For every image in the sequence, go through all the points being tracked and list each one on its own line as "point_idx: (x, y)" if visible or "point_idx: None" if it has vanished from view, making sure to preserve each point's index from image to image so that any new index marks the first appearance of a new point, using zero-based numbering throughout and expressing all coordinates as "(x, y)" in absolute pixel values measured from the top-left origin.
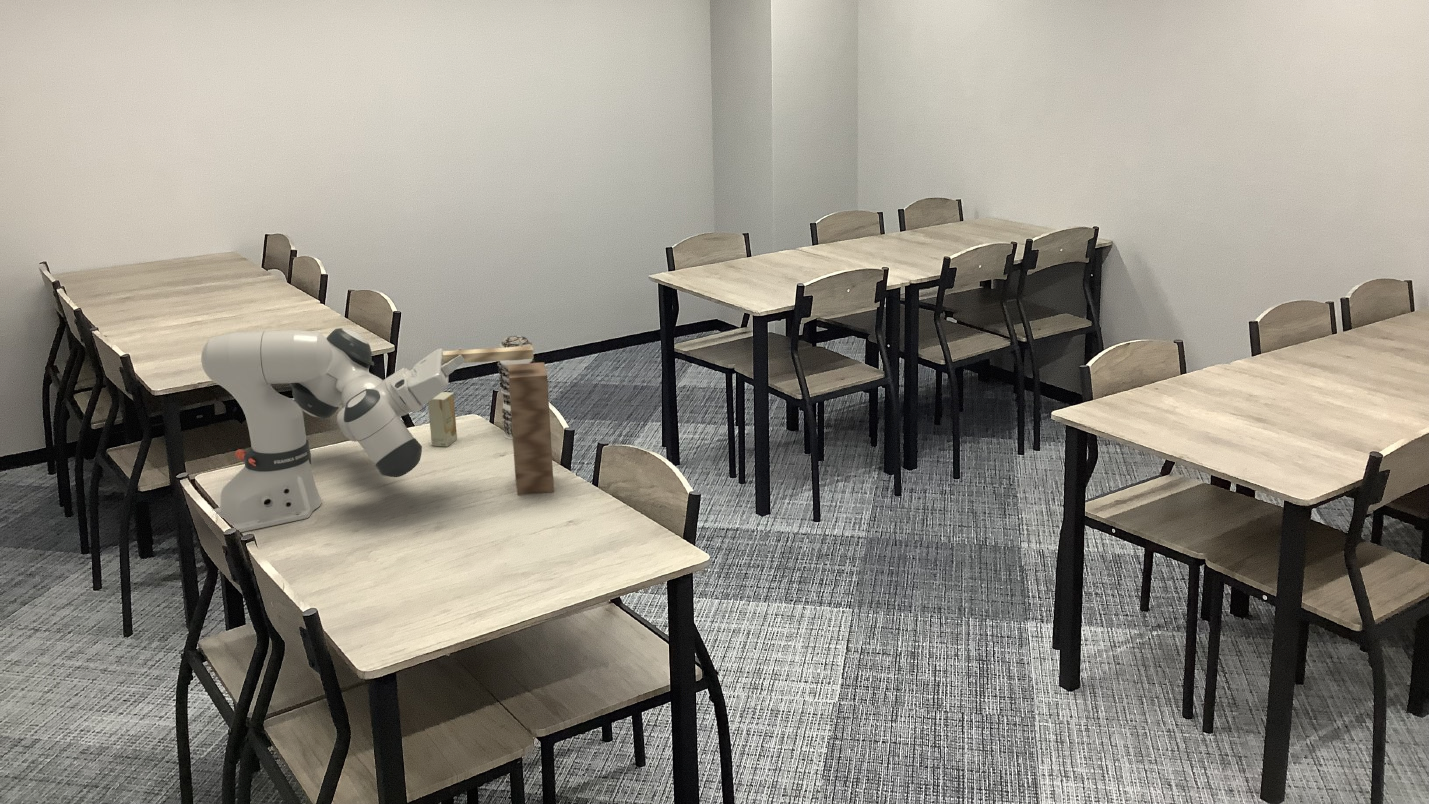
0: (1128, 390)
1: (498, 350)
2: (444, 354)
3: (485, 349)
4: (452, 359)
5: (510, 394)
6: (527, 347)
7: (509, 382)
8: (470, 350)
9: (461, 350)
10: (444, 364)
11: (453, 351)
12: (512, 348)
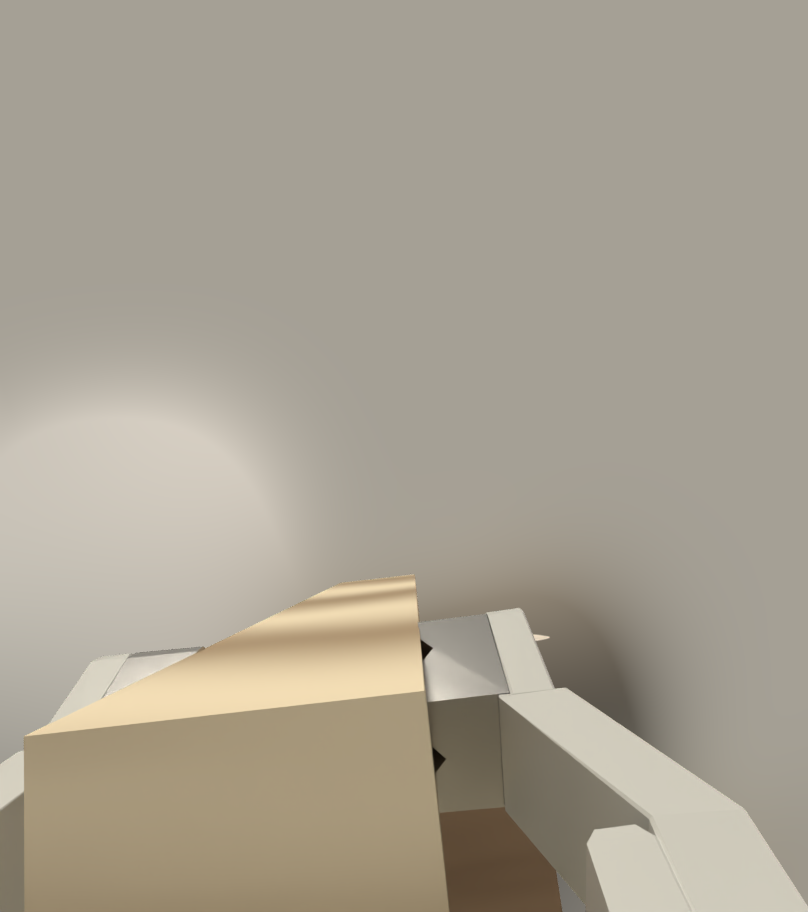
0: None
1: (379, 590)
2: (369, 685)
3: (312, 606)
4: (530, 705)
5: (519, 899)
6: (362, 581)
7: (443, 828)
8: (284, 624)
9: (229, 644)
10: (661, 877)
11: (221, 664)
12: (355, 587)
